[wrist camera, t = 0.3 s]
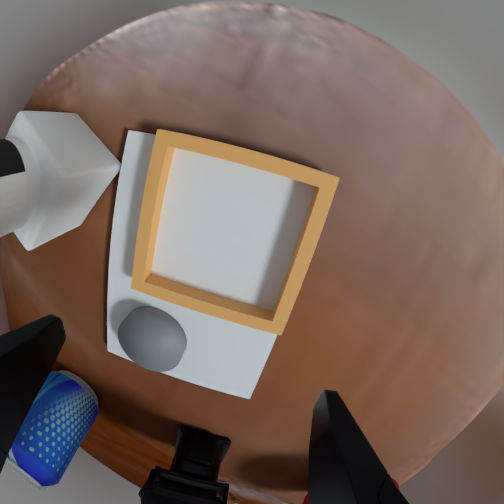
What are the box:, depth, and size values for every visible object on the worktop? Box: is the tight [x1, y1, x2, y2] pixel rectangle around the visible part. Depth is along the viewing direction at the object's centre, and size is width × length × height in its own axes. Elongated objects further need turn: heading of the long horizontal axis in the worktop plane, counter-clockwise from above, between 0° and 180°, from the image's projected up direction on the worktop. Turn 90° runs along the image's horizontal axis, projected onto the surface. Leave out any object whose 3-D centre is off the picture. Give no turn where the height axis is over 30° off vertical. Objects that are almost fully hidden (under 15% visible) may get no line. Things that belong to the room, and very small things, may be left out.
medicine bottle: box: [0, 111, 121, 250], centre depth 15 cm, size 7×7×12 cm
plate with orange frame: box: [107, 129, 339, 399], centre depth 22 cm, size 22×15×2 cm
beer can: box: [5, 370, 99, 491], centre depth 23 cm, size 8×8×16 cm
